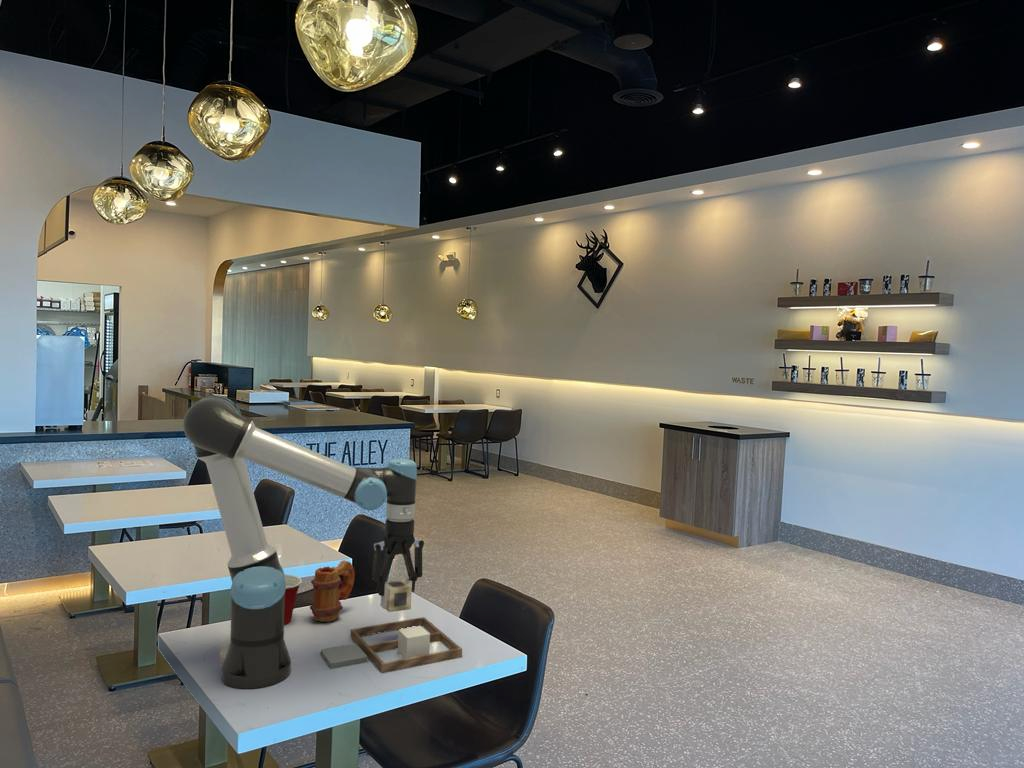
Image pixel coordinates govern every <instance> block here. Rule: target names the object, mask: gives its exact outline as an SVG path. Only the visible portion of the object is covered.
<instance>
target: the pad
mask: <svg viewBox="0 0 1024 768" xmlns="http://www.w3.org/2000/svg"><path fill="white" fill-rule="evenodd" d="M319 651H320V652H319V653H320V656H321V657H322V658H324V659H323V661H325V663H326V664H327V666H328V667H329V668H330V669H336V668H340V667H346V666H351V665H357V664H361V663H366V662H368V656H367V655H366V654H365V653H364V652H363V651H362V650H361V648H360V647H359V646H358V645H357V644H356V643H355V642H354V643H349V644H343V645H337V646H333V647H328V648H327V647H326V648H322V649H320V650H319Z"/></svg>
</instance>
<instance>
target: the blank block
mask: <svg viewBox="0 0 1024 768" xmlns="http://www.w3.org/2000/svg"><path fill="white" fill-rule="evenodd" d="M397 634H398V635H397V639H398V649H397V654H398V653H399V654H400V655H401V656H402V657H401V656H400V655H399V654H398V655H399V656H400V657H401V659H406V658H411V657H416V656H421V655H426V654H430V646H431V645H430V643H431V642H430V634H431V633H430V632H429V631H428V630H427V629H426V628H424V627H422V626H417V627H411V628H405V629H399V630H397Z"/></svg>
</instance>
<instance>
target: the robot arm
mask: <svg viewBox="0 0 1024 768" xmlns="http://www.w3.org/2000/svg"><path fill="white" fill-rule="evenodd" d="M182 428H183V432H184V435H185V437H186V439H187V440H188V441H189V442H190V443H191V444H192V445H193V447H194V451H195V454H196V458H197V459H198V460H200V461H202V462H204V463H205V465H206V468H207V471H208V475H209V479H210V483H211V486H212V490H213V493H214V497H215V500H216V504H217V508H218V511H219V515H220V519H221V522H222V526H223V529H224V532H225V537H226V540H227V544H228V547H229V550H230V553H231V557H230V558H229V560H228V561H227V563H226V565H227V568H228V571H229V574H230V579H231V585H230V599H231V602H230V604H231V605H230V644H229V646H228V649H227V651H226V655H225V658H224V660H223V663H222V666H221V676H220V677H221V681H222V683H224V684H226V685H227V686H229V687H233V688H237V689H257V688H259V689H260V688H264V687H268V686H272V685H274V684H277V683H280V682H282V681H284V680H285V679H286V678H287V677H288V676H289V675H290V674H291V671H292V661H291V657H290V654H289V651H288V647H287V644H286V641H285V625H284V607H285V590H286V583H285V575H284V574H285V571H284V569H283V567H282V565H281V563H280V561H279V556H278V554H277V549H276V547H274V546H272V545H271V544H269V543H268V541H267V538H266V537H267V536H266V534H265V530H264V527H263V522H262V518H261V516H260V512H259V508H258V504H257V501H256V498H255V493H254V490H253V486H252V483H251V479H250V478H251V477H250V474H249V471H248V469H247V465H246V461H249V462H251V463H254V464H256V465H259V466H261V467H264V468H266V469H269V470H272V471H274V472H277V473H279V474H282V475H285V476H286V477H290V478H291V479H295V480H297V481H299V482H301V483H305V484H307V485H309V486H312V487H315V488H317V489H320V490H323V491H325V492H327V493H330V494H332V495H335V496H337V497H340V498H343V499H345V500H347V501H349V502H351V503H354V504H356V505H357V506H358V507H359V508H362V509H363V510H366V511H375V510H378V509H379V508H381V507H383V505H384V504H385V502H386V505H385V517H386V519H385V521H384V522H385V524H384V538H383V539H382V541H380V542H379V541H378V542H376V541H375V542H373V544H372V547H373V551H374V553H373V561H372V569H371V580H372V581H373V582H375V583H378V585H377V589H378V590H377V594H378V596H380V607H381V608H382V609H383V610H386V609H387V594H388V584H387V583H386V582H387V579H388V577H389V573H390V569H391V567H392V564H393V561H394V560H395V557H396V556H398V555H402V556H403V560H404V565H405V569H406V572H407V576H408V578H405V580H404V581H405V582H406V583H408V584H409V585H410V586H412V593H414V592H415V591H416V581H417V580H418V579H419V578H422V577H423V548H424V546H425V545H424V544H425V541H424V540H423V539H420V538H415V536H414V533H415V520H414V518H415V514H416V493H417V480H418V476H417V473H418V471H417V470H418V469H417V463H416V462H415V461H414V460H413V459H406V458H405V459H404V458H397V459H394V458H393V459H390V460H389V461H388V463H387V466H386V467H358V466H349V465H347V464H345V463H343V462H340V461H337V460H335V459H334V458H331V457H328V456H325V455H323V454H321V453H319V452H316V451H314V450H312V449H309V448H307V447H304V446H302V445H299V444H297V443H295V442H292V441H290V440H287V439H285V438H282V437H280V436H278V435H276V434H273V433H271V432H268V431H266V430H263V429H261V428H258V427H257V426H256V425H255V423H254V421H253V420H251V419H249V418H247V417H244V416H242V414H241V410H240V409H239V407H238V405H236V404H235V402H234V401H232V400H230V399H229V398H227V397H224V396H220V395H212V396H211V395H210V396H206V397H203V398H201V399H199V400H197V401H196V402H195V403H194V404H193V405H192V406H190V407H189V408H188V410H187V411H186V412H185V414H184V417H183V423H182ZM245 460H246V461H245ZM412 546H413V547H414V564H413V561H412V554H411V550H410V549H411V547H412ZM384 547H385V548H386V551H385V556H384V561H383V562H382V557H383V556H382V555H383V552H382V551H383V550H384ZM382 563H383V564H382ZM412 593H411V595H412Z"/></svg>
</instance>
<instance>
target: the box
mask: <svg viewBox="0 0 1024 768" xmlns="http://www.w3.org/2000/svg"><path fill="white" fill-rule="evenodd" d="M419 625H423V626H424V627H423V628H424V629H425V630H426V631H427V632H428V633H429V634H430V643H434V642H441V643H442V644H443V645H444V646H445V647H446V648H447V649H448V650H442V651H438V652H432V653H429V654H426V655H421V656H416V657H411V658H406V659H403V658H401V659H397V660H392V661H386V662H384V660H383V659H382V658H381V657H379V655H378V654H377V653H381V652H385V650H387V651H391V649H392V650H395V649H396V648H398V638H397V639H393V640H388V641H382V642H376V643H371V644H368V643H367V642H366V641H365V640H364V638H362V637H363V636H362V635H365V636H369V635H368V634H370V635H374V634H373V633H376V634H379V633H378V632H382V633H385V632H384V631H388V632H390V631H389V630H394V631H396V630H395V629H399V630H400V629H401V628H407V627H412V626H419ZM349 632H350V633H349V634H350V635H349V637H350V636H351V637H350V638H351V639H352V640H353V642H354V643H356V644H357V645H358V646H359V648H360V649H361V650H362V651H363V652H364V653H365V654H366V656H367V659H369V660H370V661H371V663H373V665H374V666H375V667H376V668H377V669H378V671H379V672H380V673H381V674H384V673H389V671H390V672H394V671H399V670H403V668H404V669H408V668H414V667H418V665H419V666H423V664H424V665H427V664H433V663H439V662H443V661H449V660H453V659H458V658H463V648H462V647H461V646H459V645H458V644H457V643H456V642H454V641H453V640H452V639H451V638H450V636H447V635H446V634H445V633H444V632H443V631H441V630H440V629H439V628H438V627H437V626H435V625H434V624H433V623H432V622H430V621H429V620H428V619H427V618H426V617H425V616H424V617H423V616H422V617H417V618H410V619H403V620H398V621H392V622H385V623H380V624H375V625H374V624H373V625H368V626H363V627H362V626H361V627H356V628H351V629H350V631H349ZM380 651H381V652H380ZM375 652H376V653H375ZM413 666H414V667H413Z"/></svg>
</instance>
